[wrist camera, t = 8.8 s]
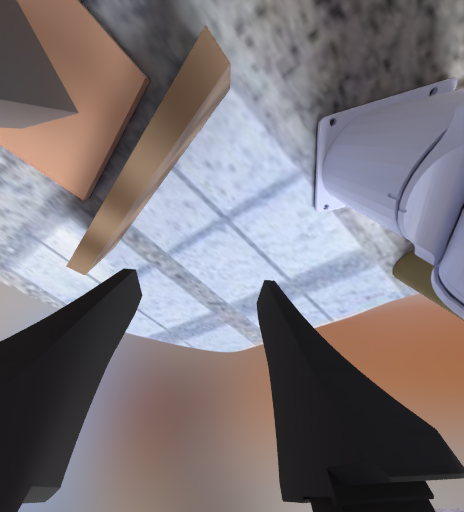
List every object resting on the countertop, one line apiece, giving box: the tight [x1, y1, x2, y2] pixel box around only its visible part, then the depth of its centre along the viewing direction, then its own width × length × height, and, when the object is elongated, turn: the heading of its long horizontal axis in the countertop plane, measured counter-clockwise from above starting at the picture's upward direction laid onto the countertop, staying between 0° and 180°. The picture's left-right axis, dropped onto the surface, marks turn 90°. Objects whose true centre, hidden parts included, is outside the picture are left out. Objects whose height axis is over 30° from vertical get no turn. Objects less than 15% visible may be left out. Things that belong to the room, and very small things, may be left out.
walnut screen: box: [67, 25, 230, 275], centre depth 14 cm, size 20×2×5 cm, turn 134°
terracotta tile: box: [0, 0, 150, 201], centre depth 11 cm, size 12×12×1 cm
